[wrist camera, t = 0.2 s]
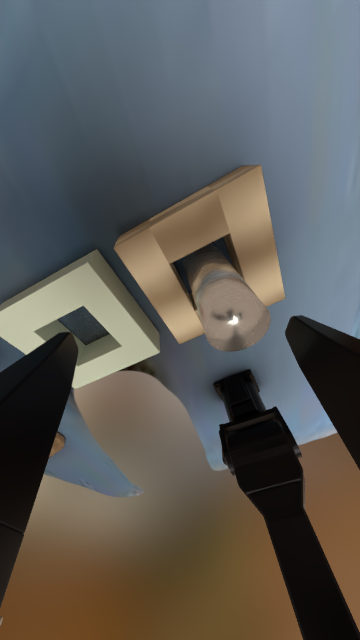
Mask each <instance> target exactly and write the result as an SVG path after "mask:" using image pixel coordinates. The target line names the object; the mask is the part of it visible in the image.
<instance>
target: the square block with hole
mask: <svg viewBox="0 0 360 640" xmlns="http://www.w3.org/2000/svg"><path fill="white" fill-rule="evenodd" d="M81 306H84V307H85V308H86V309H87V310H88V311H89V312H90V313H91V314H92V315H93V316H94V317H95V318H96V319H97V320H98V321H99V322H100V323H101V324H102V326H103V327H104V328H105V329H106V330H107V331H108V332H109V333H110V334H109V335H107V336H104V337H102V338H100V339H98V340H96V341H94V342H92V343H90V344H88V345H85V344H84V343H83V342H81V341H80V340H79V339H78V338H77V337H76V336H75V335H74V334H73V333H72V334H73V336H74V338H75V341H76V343H77V346H78V350H79V351H78V358H77V363H76V368H75V373H74V378H73V383H72V387H73V388H75V389H77V388H79V387H81V386H84V385H86V384H88V383H90V382H93V381H95V380H98V379H100V378H102V377H105V376H107V375H109V374H111V373H114V372H116V371H118V370H121V369H123V368H125V367H128V366H130V365H132V364H135V363H137V362H139V361H142V360H144V359H146V358H149V357H151V356H153V355H155V354H158V353H160V341H159V332H158V331H157V329H156V328H155V327H154V325H153V324H152V323H151V321H150V320H149V319H148V317H147V316H146V315H145V313H144V312H143V310H142V309H141V308H140V306H139V305H138V304H137V302H136V301H135V300H134V298H133V297H132V296H131V294H130V293H129V292H128V290H127V289H126V288H125V286H124V285H123V284H122V282H121V281H120V279H119V278H118V277H117V275H116V274H115V273H114V271H113V270H112V269H111V267H110V266H109V265H108V263H107V262H106V261H105V259H104V258H103V257H102V255H101V254H100V252H99V251H98V250H97V249H96V250H94V251H92V252H91V253H89V254H87V255H85V256H84V257H82V258H80V259H78V260H77V261H75V262H73V263H71V264H70V265H68V266H66V267H64V268H63V269H61V270H59V271H57V272H56V273H54V274H52V275H50V276H49V277H47V278H45V279H43V280H42V281H40V282H38V283H36V284H35V285H33V286H31V287H29V288H28V289H26V290H24V291H22V292H21V293H19V294H17V295H15V296H14V297H12V298H10V299H8V300H7V301H5V302H3V303H2V304H1V305H0V337H2V338H3V339H5V340H6V341H7V342H9V343H10V344H12V345H13V346H15V347H16V348H18V349H19V350H20V351H22V352H23V353H25V354H26V355H27V354H28V353H30V352H31V351H33V350H34V349H36V348H37V347H39V346H40V345H42V344H43V343H45V342H46V341H48V340H49V339H51V338H52V337H53V336H55V335H56V334H58V333H60V332H70V331H69V330H68V329H67V328H66V327H65V326H64V325H63V324H61V323H60V322H59V321H58V320H57V319H58V318H60V317H62V316H64V315H66V314H68V313H70V312H72V311H74V310H76V309H78V308H79V307H81Z"/></svg>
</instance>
